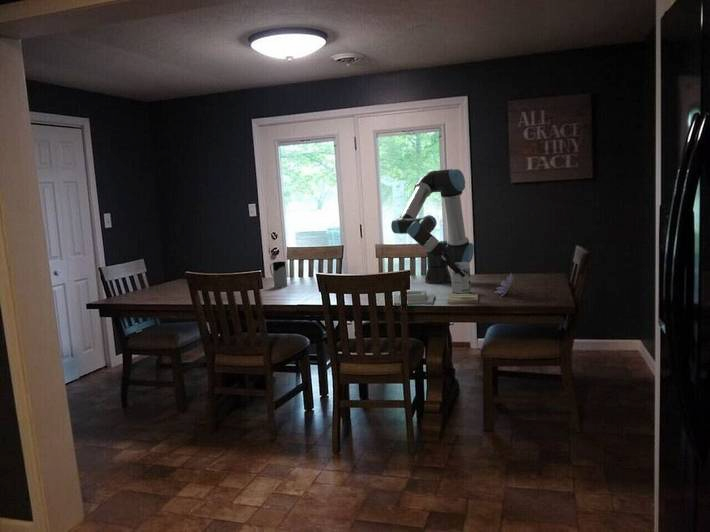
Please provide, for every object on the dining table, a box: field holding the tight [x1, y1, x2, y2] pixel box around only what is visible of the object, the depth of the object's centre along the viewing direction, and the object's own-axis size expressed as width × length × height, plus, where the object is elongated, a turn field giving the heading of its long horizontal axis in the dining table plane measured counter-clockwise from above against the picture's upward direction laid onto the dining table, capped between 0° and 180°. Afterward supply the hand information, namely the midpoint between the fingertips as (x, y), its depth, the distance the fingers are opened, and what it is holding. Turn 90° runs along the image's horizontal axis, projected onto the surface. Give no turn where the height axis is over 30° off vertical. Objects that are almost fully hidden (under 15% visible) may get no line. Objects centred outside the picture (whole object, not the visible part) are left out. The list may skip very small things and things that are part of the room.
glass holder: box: [269, 261, 289, 288], centre depth 360 cm, size 9×14×15 cm, turn 41°
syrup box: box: [454, 262, 472, 294], centre depth 284 cm, size 6×6×14 cm
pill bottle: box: [450, 269, 458, 294], centre depth 305 cm, size 8×8×15 cm
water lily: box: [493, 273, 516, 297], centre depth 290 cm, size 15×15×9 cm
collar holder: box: [392, 290, 436, 306], centre depth 290 cm, size 20×20×4 cm
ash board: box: [447, 293, 479, 305], centre depth 285 cm, size 18×14×1 cm
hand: (469, 279), depth 283 cm, fingers closed on syrup box, 7 cm apart
